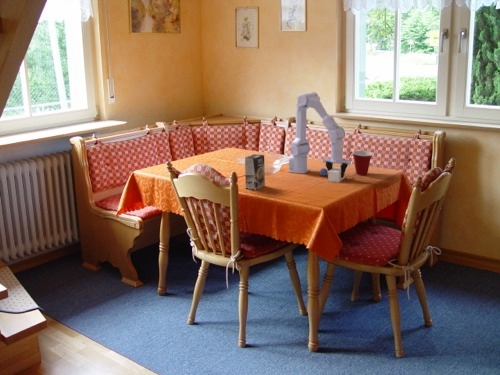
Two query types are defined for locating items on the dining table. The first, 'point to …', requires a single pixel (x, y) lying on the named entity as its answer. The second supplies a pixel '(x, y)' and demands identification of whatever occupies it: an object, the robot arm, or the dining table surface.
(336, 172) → the cream rectangular prism
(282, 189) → the dining table surface
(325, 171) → the ball
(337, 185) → the dining table surface
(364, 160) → the plastic cup
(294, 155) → the robot arm
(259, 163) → the coffee box
